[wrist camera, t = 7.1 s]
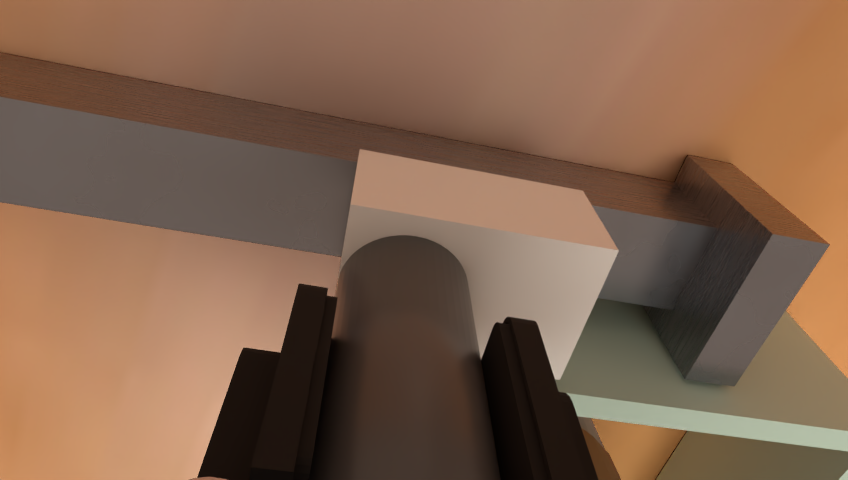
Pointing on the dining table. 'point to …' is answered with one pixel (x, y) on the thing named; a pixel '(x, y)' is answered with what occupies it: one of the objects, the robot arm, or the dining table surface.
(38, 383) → the dining table surface
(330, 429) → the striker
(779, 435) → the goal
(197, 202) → the rail
